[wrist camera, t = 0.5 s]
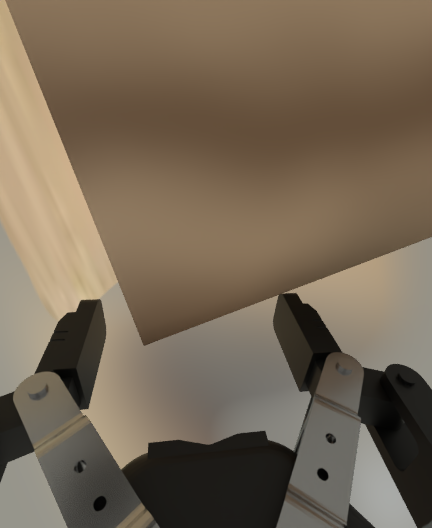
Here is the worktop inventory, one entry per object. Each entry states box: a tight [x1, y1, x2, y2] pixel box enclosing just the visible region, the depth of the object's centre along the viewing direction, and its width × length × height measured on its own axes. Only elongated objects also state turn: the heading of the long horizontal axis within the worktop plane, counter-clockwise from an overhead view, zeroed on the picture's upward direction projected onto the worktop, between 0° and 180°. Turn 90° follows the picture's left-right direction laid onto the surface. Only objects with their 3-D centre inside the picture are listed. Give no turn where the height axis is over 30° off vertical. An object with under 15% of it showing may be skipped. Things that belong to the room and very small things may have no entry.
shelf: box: [6, 0, 432, 345], centre depth 22 cm, size 11×15×28 cm
